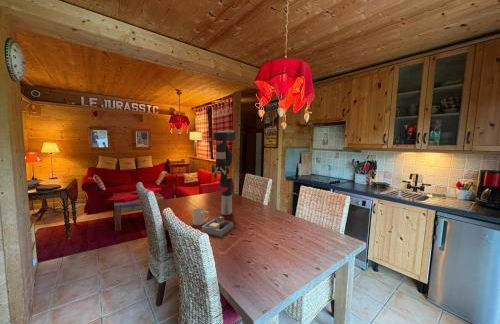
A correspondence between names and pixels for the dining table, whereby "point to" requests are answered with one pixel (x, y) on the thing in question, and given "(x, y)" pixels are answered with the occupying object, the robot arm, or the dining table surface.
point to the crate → (220, 232)
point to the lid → (214, 224)
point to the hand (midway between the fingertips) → (220, 179)
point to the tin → (220, 222)
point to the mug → (198, 216)
